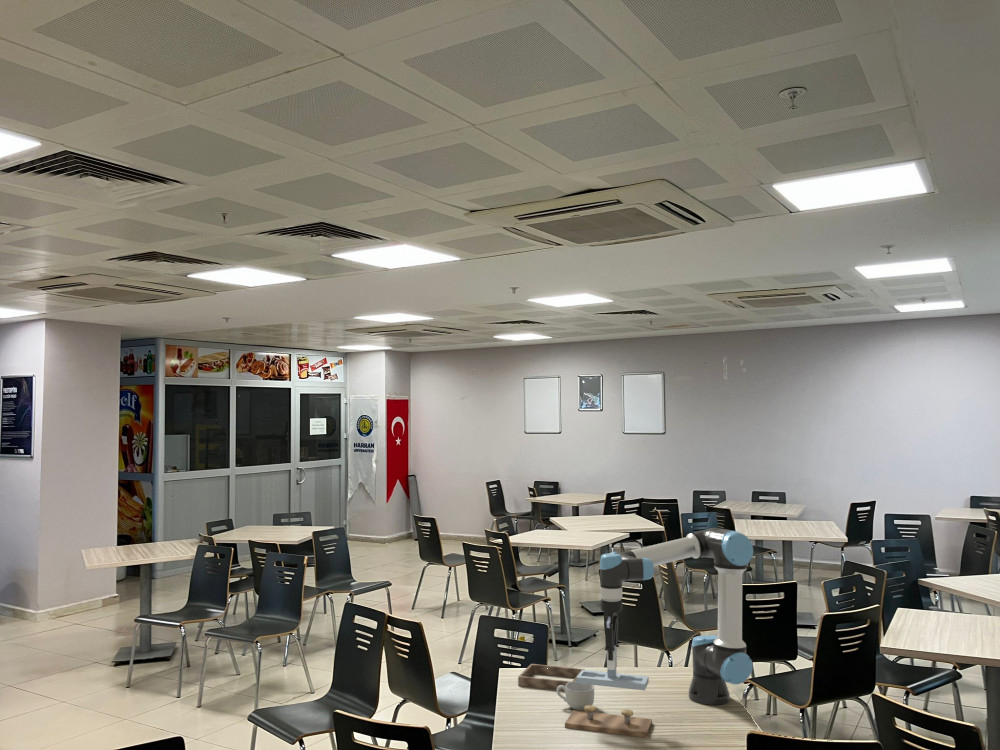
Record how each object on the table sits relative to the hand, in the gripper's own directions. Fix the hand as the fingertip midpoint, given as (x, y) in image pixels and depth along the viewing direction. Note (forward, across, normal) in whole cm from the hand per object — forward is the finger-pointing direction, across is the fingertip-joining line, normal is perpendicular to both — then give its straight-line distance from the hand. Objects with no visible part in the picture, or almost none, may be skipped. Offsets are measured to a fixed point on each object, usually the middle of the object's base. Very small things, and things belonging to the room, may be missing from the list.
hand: (612, 667), depth 268 cm
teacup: (+20, -14, -16) cm, 29 cm away
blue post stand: (+5, 0, +1) cm, 5 cm away
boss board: (+20, 0, -1) cm, 20 cm away
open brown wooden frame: (+20, -39, -32) cm, 54 cm away
